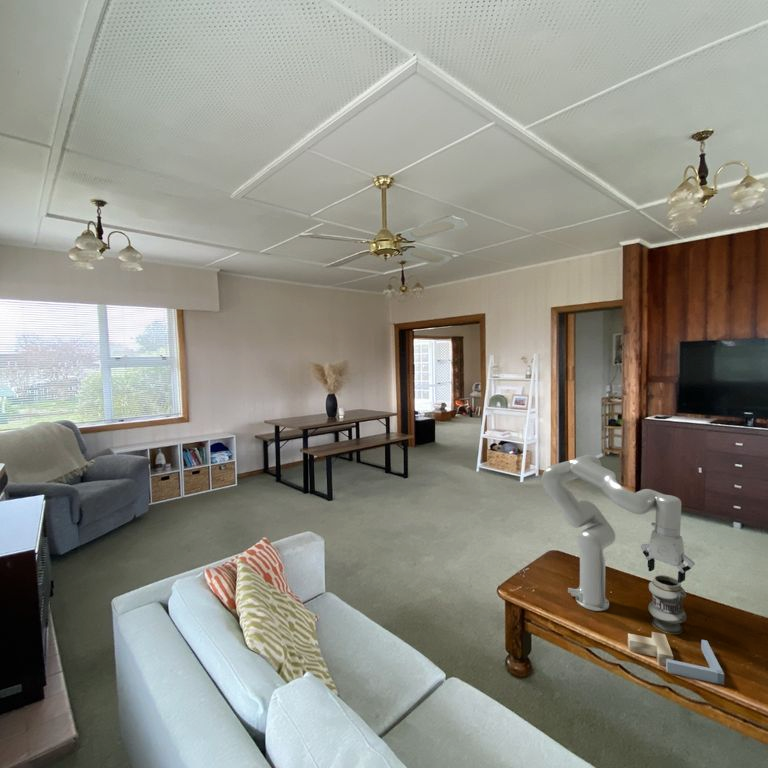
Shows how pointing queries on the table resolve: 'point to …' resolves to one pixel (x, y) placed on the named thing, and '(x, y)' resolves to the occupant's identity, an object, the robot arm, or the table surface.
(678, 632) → the apothecary jar
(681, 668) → the fence
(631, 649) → the t block
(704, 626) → the table surface
